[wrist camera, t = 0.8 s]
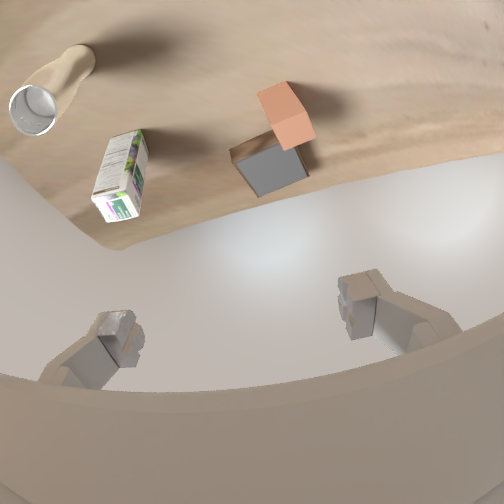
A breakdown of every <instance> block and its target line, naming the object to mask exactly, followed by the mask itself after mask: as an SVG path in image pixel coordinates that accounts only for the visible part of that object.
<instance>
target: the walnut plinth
mask: <svg viewBox="0 0 504 504" xmlns="http://www.w3.org/2000/svg"><path fill="white" fill-rule="evenodd" d="M230 155H231V160H232V163H233V164H234V166H235V167H236V168H237V170H238V171H239V172H240V174H241V175H242V176H243V178H244V179H245V181H246V182H247V183H248V185H249V186H250V187H251V189H252V190H253V191H254V193H255V194H256V196H257V197H258V198H259V197H261V196H264V195H266V194H268V193H271V192H273V191H275V190H278V189H280V188H282V187H285V186H287V185H290V184H292V183H294V182H297V181H299V180H302V179H304V178H307V177H309V176H310V175H309V173H308V171H307V168H306V166H305V164H304V161H303V159H302V157H301V155H300V152H299V150H298V148H297V146H295V147H292V148H290V149H288V150H285V151H284V150H283V148H282V146H281V144H280V142H279V140H278V138H277V136H276V135H275V133H274V131H273V130H271V131H268V132H266V133H264V134H262V135H260V136H257V137H255V138H253V139H251V140H249V141H247V142H244V143H242V144H240V145H238V146H236V147H234V148H232V149H230Z"/></svg>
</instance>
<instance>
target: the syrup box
mask: <svg viewBox="0 0 504 504" xmlns="http://www.w3.org/2000/svg"><path fill="white" fill-rule="evenodd" d="M148 156H149V152H148V150H147V146H146V143H145V140H144V138H143V135H142V132H141V130H136V131H133V132H129V133H126V134H122V135H119V136H116V137H113V138H111V139H110V142H109V145H108V147H107V150H106V153H105V156H104V159H103V162H102V165H101V168H100V171H99V174H98V177H97V180H96V184H95V187H94V190H93V194H92V201H93V202H94V203H95V205H96V206H97V208H98V210H99V211H100V213H101V214H102V216H103V217H104V219H105V220H106V222H115V221H121V220H126V219H130V218H133V217H136V216H139V215H140V208H141V200H142V193H143V186H144V180H145V174H146V168H147V161H148Z"/></svg>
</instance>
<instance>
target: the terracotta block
mask: <svg viewBox="0 0 504 504" xmlns="http://www.w3.org/2000/svg"><path fill="white" fill-rule="evenodd" d="M257 96H258V98H259V100H260V102H261V104H262V107H263V109H264V111H265V114H266V116H267V118H268V120H269V123H270V125H271V127H272V129H273V131H274V133H275V135H276V136H277V138H278V140H279V142H280V144H281V146H282V148H283V150H284V151H285V150H288V149H290V148H292V147H295V146H297V145H300V144H302V143H305V142H307V141H309V140H312V139H315V138H316V135H315V132H314V130H313V127H312V124H311V122H310V119H309V117H308V114H307V112H306V110H305V108H304V107H303V105H302V104H301V102H300V101H299V99H298V98H297V97H296V95H295V94H294V92H293V91H292V89H291V88H290V86H289V85H288V84H287V82H286V81H284V82H282V83H280V84H277V85H275V86H272V87H270V88H268V89H265V90H263V91H261V92H259V93H257Z"/></svg>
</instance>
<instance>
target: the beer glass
mask: <svg viewBox="0 0 504 504" xmlns="http://www.w3.org/2000/svg"><path fill="white" fill-rule="evenodd" d="M95 61H96V59H95V55H94V52H93V51H92V50H91V49H90V48H89V47H87V46H85V45H74V46H72V47H70V48H68V49H67V50H66V51H65V52H64V53H63V54H62V55H61V57H60V58H59V59H57V60H54V61H52V62H50V63H48V64H46V65H44V66H43V67H41V68H39V69H38V70H37V71H36V72H34V73H33V74H32V75H31V76H30V77H29V78H28V79H27V80H26V81H25V82H24V83H23V84H22V86H21V87H20V88H19V89H18V90H17V91H16V92H15V94H14V95H13V97H12V99H11V101H10V105H9V116H10V119H11V122H12V124H13V125H14V127H15V128H16V129H17V130H18V131H20V132H21V133H23V134H25V135H28V136H40V135H43V134H45V133H46V132H48V131H49V130H50V129H51V128H52V127H53V126H54V124H55V123H56V121H57V120H58V119H59V118H60V117H61V116H62V114H63V113H64V112H65V110H66V109H67V108H68V106H69V105H70V103H71V101H72V100H73V98H74V96H75V94H76V92H77V89H78V87H79V84H80V82H81V80H83V79H84V78H86V77H87V76H88V75H89V74H90V73H91V72H92V71H93V69H94V66H95Z"/></svg>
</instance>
